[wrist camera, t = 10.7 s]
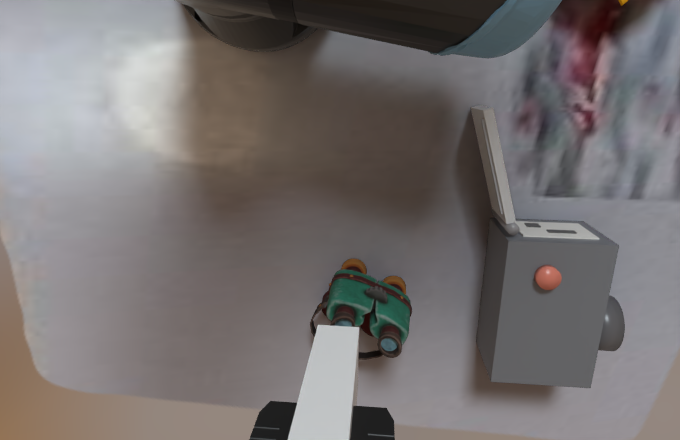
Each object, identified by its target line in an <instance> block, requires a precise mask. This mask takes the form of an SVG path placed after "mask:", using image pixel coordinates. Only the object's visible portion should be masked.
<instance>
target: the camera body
mask: <svg viewBox="0 0 680 440" xmlns="http://www.w3.org/2000/svg"><path fill="white" fill-rule="evenodd" d="M515 220H516V222H515V223H516V224H517V225H518V226H519V228H520V230H519V233H518V234H516V235H510V234H509V233H508V232H507V231H506V230H505V228H504V227H503V226H502V225H501V224H500V223H499V221H498V220H497V219H496V218H490V223H489V232H488V241H487V250H486V259H485V268H484V277H483V286H482V295H481V304H480V312H479V321H478V330H477V339H476V342H477V345H478V348H479V351H480V353H481V356H482V359H483V361H484V364H485V367H486V370H487V372H488V375H489V378H490V380H491V382H502V383H518V384H533V385H549V386H564V387H580V388H591V383H592V378H593V373H594V368H595V363H596V358H597V353H598V350H603V351H615V350H617V349H618V348H619V347H620V346H621V344H622V341H623V338H624V331H625V324H624V316H623V312H622V309H621V307H620V305H619V303H618V301H617V300H616V299H615V298H614V297H612V296H609V293H610V288H611V283H612V278H613V273H614V268H615V263H616V258H617V253H618V248H619V245H618V244H616V243H615V242H613V241H612V240H610V239H609V238H607V237H606V236H604V235H603V234H601V233H600V232H598V231H597V230H595V229H594V228H593V227H591V226H590V225H588V224H587V223H585V222H584V221H557V220H530V219H515Z"/></svg>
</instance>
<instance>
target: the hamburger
mask: <svg viewBox="0 0 680 440" xmlns="http://www.w3.org/2000/svg"><path fill="white" fill-rule="evenodd" d="M618 1H619V3H620V5H621V6H622V5H624V4H625V3H626V2H627V1H628V0H618Z"/></svg>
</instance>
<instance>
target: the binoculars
mask: <svg viewBox="0 0 680 440" xmlns="http://www.w3.org/2000/svg"><path fill="white" fill-rule="evenodd" d="M366 273H367V270H366V266H365V264H364V263H363V262H362V261H360V260H358V259H349V260H347V261H346V262H344V264H343V265H342V268H341V270H339V271H337V272H336V273H335V275H334V277H333V279H332V282H331V283H330V284H329V286H330V287H329V291H328V292H326V293H325V295H324V296H323V299H322V303H320V304H319V305H318V307H317V309H316V310H315V312H314V315H313V317H312V319H311V322H310V326H311V332H312V334H313V336H314V337H315V334H316V329H315V327H314V322H313V319H314V317H315V315H316V314H317V313H318V312H319V311H320V310H321V309H322V311H323V313H324V314H325V315H326V316H327V318H328V319H329V320H330V321H331V325H330V326H347V327H357V326H361V328H362V329H363V331H364V332H365V333H367V334H368V335H370V336H374V337H376V338H377V339H378V348H379V350H378V351H373V352H368V353H362V352H359V354H358V359H364V360H366V359H371V358H377V357H380V356H382V355H385V356H387V357H390V358H394V357H397V356H398V355H399V354H400V353H401V350H402V344H403V343H404V342H405V340H406V339H407V337H408V332H409V321H410V316H411V313H412V307H411V305H410V300H409V298H408V297H407V296H406V285H405V282H404V281H403V280H402V279H401V278H400V277H397V276H389V277H387V278H385V279H384V280H383V281H378V284H377V280H376V279H375V278H373V277H371V276H368V275H366Z"/></svg>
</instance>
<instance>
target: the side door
mask: <svg viewBox="0 0 680 440" xmlns="http://www.w3.org/2000/svg"><path fill="white" fill-rule="evenodd" d="M471 112H472V116H473V121H474V126H475V130H476V135H477V140H478V145H479V149H480V154H481V159H482V163H483V168H484V173H485V178H486V182H487V187H488V192H489V196H490V201H491V206H492V214H493V216H494V217H495V218H496V219H497V220H498V221H499V223H500V224H501V225H502V226H503V227H504V228H505V230H506V231H507V232H508V233H509V234H510V235H516V234H518V233H519V230H520V228H519V226H518V225H517V224H516V223H515V222H516V220H515V215H514V210H513V205H512V200H511V195H510V190H509V185H508V180H507V175H506V170H505V165H504V160H503V155H502V150H501V145H500V140H499V135H498V130H497V125H496V120H495V115H494V110H493V108H492V107H487V106H482V105H477V106H474V107H471Z"/></svg>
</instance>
